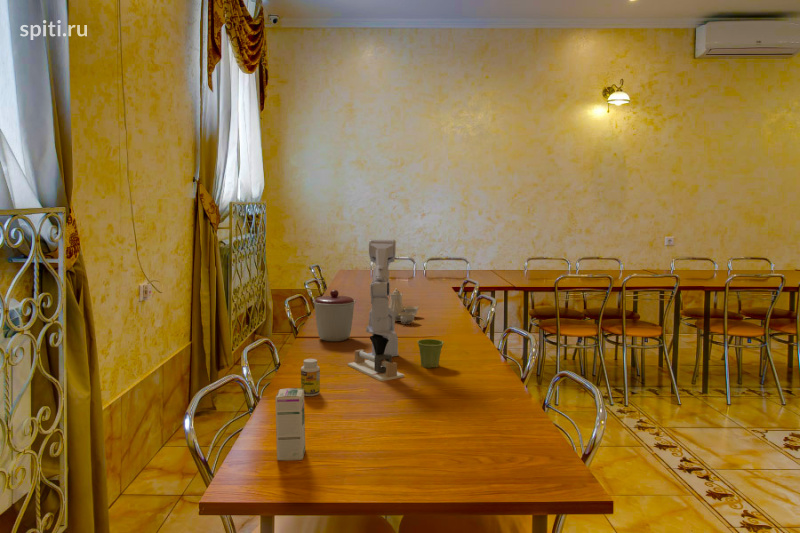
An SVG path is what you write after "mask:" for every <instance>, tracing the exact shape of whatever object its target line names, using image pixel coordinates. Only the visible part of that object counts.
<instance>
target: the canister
mask: <svg viewBox="0 0 800 533" xmlns="http://www.w3.org/2000/svg"><path fill="white" fill-rule="evenodd" d="M312 303H313V304H314V314H315V321H316V322H315V323H316V328H317V335H318V337H319V338H320V339H321V340H322V341H326V342H342V341H346V340H348V339H349V337H350V336H351V332H352V326H353V325H352V324H353V318H354V309H355V304H356V303H357V302H356V299H354V298H352V297H350V296H346V295H339V291H338V290H337V289H333V290H330V295H324V296H319V297H316V298H315V299H314V300H312Z"/></svg>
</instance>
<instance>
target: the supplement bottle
mask: <svg viewBox="0 0 800 533" xmlns="http://www.w3.org/2000/svg"><path fill="white" fill-rule="evenodd" d="M320 371H321V369H320V366H319V365H318V360H317V359H316V358H306V359H303V365H302V366H301V367H300V388H301V389H304V397H305V396H306V397H315V396H318V395H319V394H320V391H321V390H320V388H321V387H320V383H321V382H320V381H321V374H320V373H321V372H320Z"/></svg>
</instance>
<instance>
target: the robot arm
mask: <svg viewBox="0 0 800 533" xmlns="http://www.w3.org/2000/svg"><path fill="white" fill-rule="evenodd" d="M396 251H397V250H396V240H395V239H373V238H372V239H370V240H369V241H368V255H369V259H370V261H371V262H372V263H375V266H374V268H373V269H372V276H371V277H372V278H371V279H372V280H371V282H370V284H369V295H370V304H371V310H369V312H368V326H365V332H366V333H368V334H371V336H369V340H370V341H371V352H368V354H370V355H373V356H375V355H382V354H390V355H392V357H397V356H400V354H399V337H398V334H397V333H396V332H395V327H396V326H395V323H396V322H395V316H394V311H393V310H392V309H391V308H389V306H390V303H389V299H390V298H391V296H390V293H391V283H390V270H389V266H390V264H391V263H393V262H395V259H396Z"/></svg>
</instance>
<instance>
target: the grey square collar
mask: <svg viewBox="0 0 800 533" xmlns="http://www.w3.org/2000/svg"><path fill="white" fill-rule="evenodd" d="M392 359H393V358H392V355H390V354H382V355H375V371H376V372H378V373H379V372H385V371H386V367H381V360H386V361H387V362H390V363H393V362H392Z"/></svg>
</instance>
